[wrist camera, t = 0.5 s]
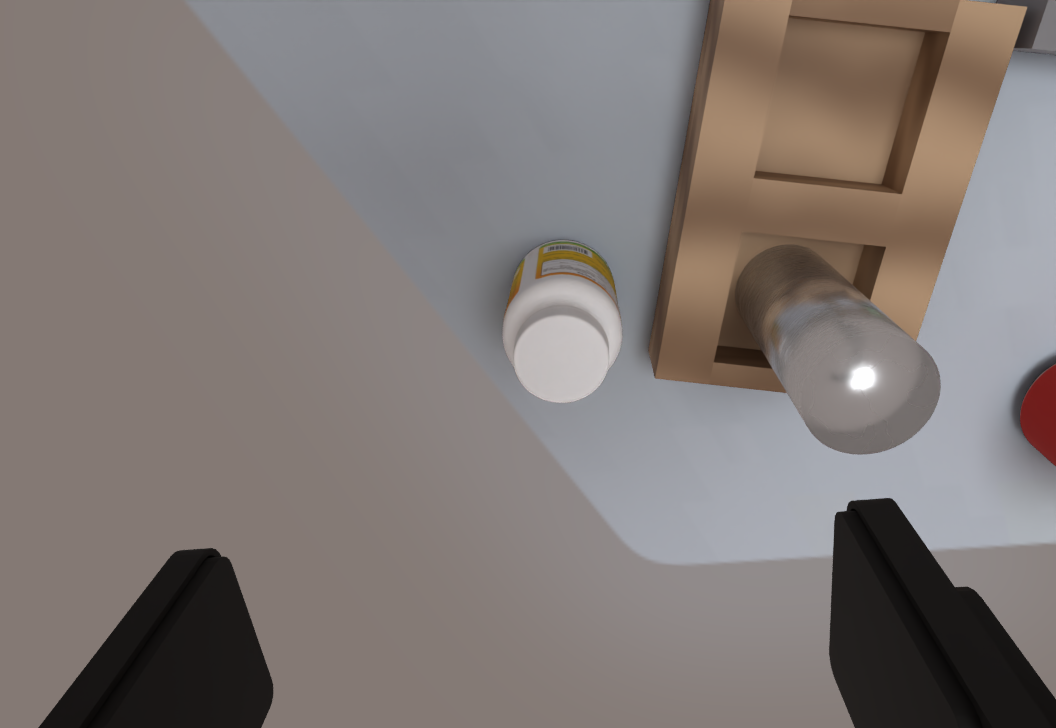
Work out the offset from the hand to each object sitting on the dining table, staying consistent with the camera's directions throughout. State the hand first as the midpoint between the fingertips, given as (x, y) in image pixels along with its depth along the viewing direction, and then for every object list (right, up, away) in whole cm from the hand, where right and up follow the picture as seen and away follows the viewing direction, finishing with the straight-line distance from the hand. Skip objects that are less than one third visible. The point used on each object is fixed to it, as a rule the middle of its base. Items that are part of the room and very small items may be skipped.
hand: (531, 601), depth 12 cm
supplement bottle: (+2, +8, +28) cm, 29 cm away
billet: (+13, +7, +26) cm, 30 cm away
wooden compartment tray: (+13, +12, +26) cm, 31 cm away
